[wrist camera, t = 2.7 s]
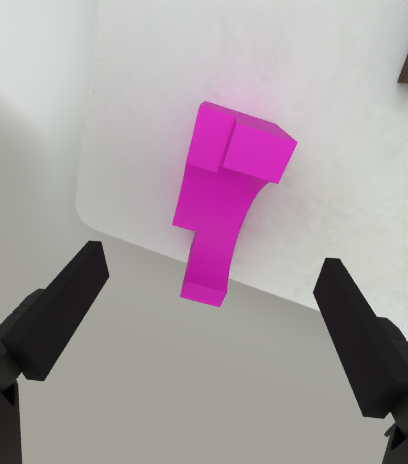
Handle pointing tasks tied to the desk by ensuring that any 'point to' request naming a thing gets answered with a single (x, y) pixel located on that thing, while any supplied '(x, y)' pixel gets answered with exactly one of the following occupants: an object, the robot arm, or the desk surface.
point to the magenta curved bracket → (224, 191)
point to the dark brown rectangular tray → (404, 73)
